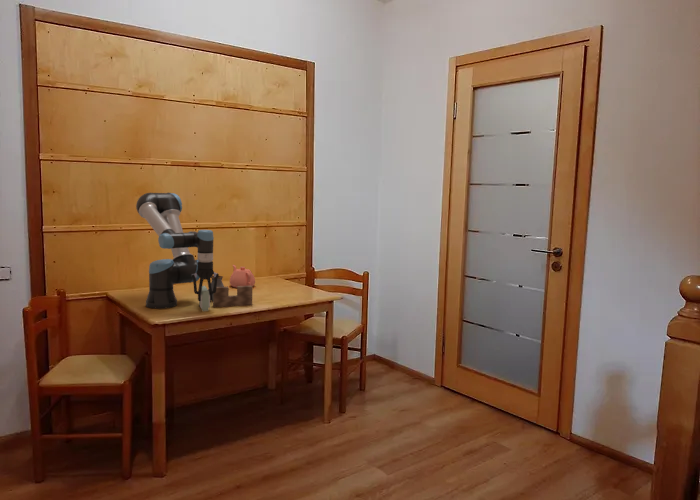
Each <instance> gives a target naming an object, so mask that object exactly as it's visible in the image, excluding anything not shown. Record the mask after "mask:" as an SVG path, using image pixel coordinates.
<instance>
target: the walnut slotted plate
mask: <svg viewBox="0 0 700 500" xmlns="http://www.w3.org/2000/svg"><path fill="white" fill-rule="evenodd" d="M229 290H230V289H229V286H224V287H216V293H213V301H212V307H213V308H222V307H224V308H225V307H244V306H246V307H247V306H253V287H252V286H237V288H236V294H235V295H229V294H230V293H229V292H230V291H229Z"/></svg>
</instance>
